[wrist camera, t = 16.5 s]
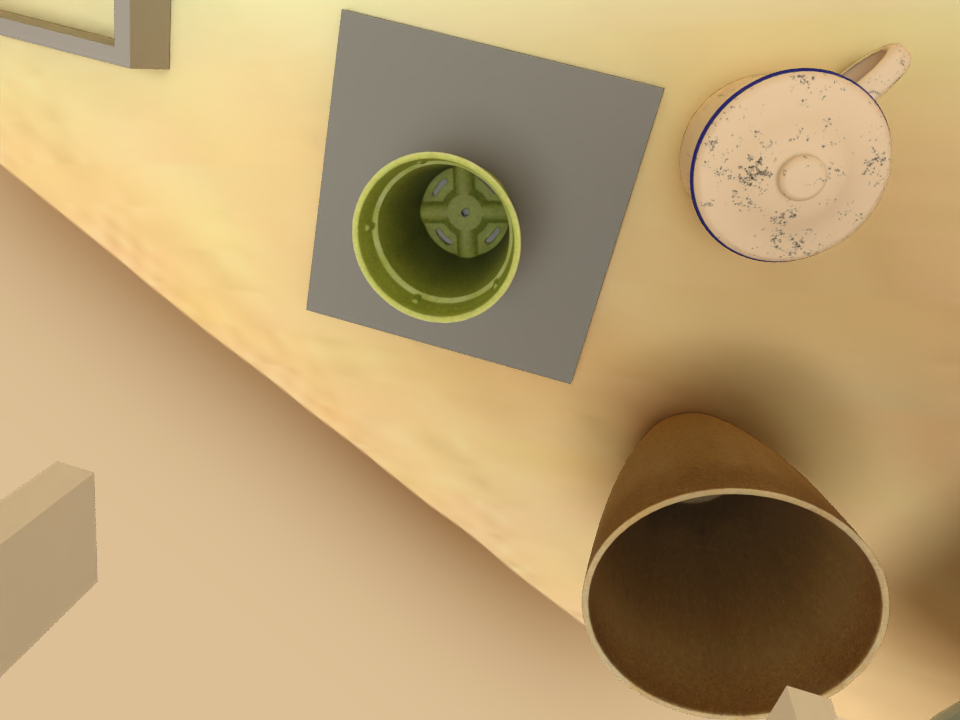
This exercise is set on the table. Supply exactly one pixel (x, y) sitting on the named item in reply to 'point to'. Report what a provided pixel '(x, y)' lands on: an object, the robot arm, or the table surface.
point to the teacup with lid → (792, 156)
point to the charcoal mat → (500, 150)
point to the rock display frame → (136, 36)
